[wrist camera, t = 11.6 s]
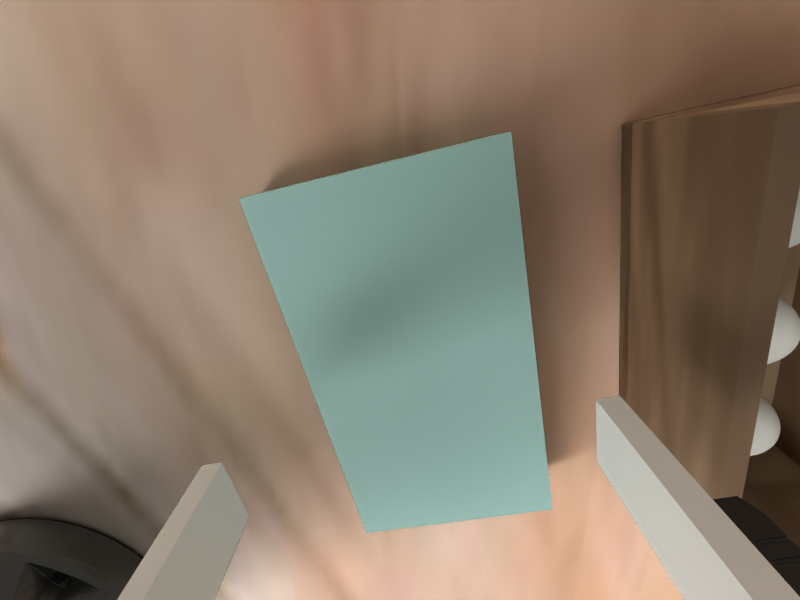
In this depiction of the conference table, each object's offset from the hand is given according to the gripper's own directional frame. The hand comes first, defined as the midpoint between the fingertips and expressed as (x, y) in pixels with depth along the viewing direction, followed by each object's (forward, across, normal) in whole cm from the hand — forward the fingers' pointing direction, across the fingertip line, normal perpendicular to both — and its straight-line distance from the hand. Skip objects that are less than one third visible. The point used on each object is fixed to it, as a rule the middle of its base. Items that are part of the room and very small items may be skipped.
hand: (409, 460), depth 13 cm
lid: (+8, +1, 0) cm, 8 cm away
